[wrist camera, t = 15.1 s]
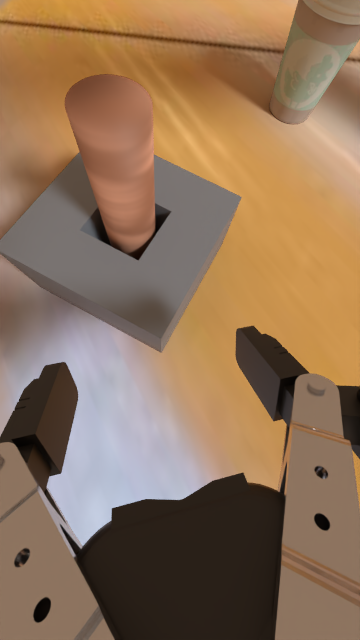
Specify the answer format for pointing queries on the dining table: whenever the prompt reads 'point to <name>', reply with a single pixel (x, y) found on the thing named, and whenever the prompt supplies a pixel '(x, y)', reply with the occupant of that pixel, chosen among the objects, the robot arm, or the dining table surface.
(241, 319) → the dining table surface
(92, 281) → the hole block
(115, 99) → the pin
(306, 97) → the coffee cup
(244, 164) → the dining table surface
